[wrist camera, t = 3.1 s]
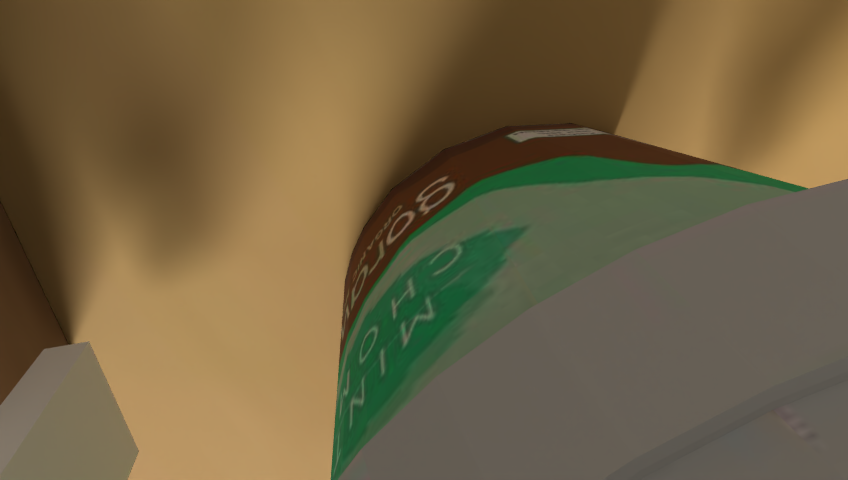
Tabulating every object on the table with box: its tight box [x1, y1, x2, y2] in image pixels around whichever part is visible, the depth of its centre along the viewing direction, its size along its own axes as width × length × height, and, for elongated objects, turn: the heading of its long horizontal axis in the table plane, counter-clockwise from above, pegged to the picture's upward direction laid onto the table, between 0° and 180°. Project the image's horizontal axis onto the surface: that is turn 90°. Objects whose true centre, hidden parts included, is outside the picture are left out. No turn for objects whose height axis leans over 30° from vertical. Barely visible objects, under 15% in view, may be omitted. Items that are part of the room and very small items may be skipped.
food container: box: [331, 123, 848, 480], centre depth 9 cm, size 12×6×10 cm, turn 159°
